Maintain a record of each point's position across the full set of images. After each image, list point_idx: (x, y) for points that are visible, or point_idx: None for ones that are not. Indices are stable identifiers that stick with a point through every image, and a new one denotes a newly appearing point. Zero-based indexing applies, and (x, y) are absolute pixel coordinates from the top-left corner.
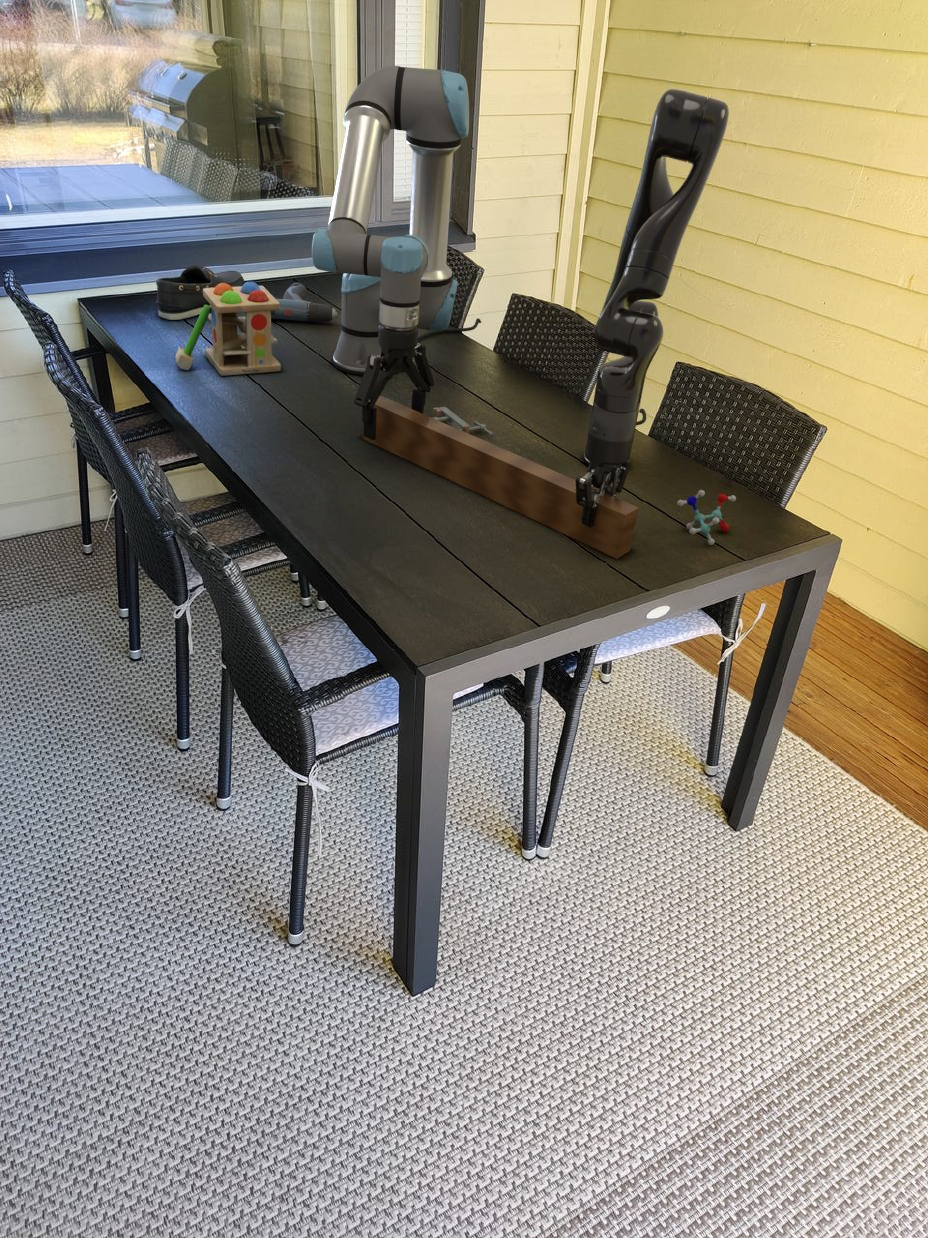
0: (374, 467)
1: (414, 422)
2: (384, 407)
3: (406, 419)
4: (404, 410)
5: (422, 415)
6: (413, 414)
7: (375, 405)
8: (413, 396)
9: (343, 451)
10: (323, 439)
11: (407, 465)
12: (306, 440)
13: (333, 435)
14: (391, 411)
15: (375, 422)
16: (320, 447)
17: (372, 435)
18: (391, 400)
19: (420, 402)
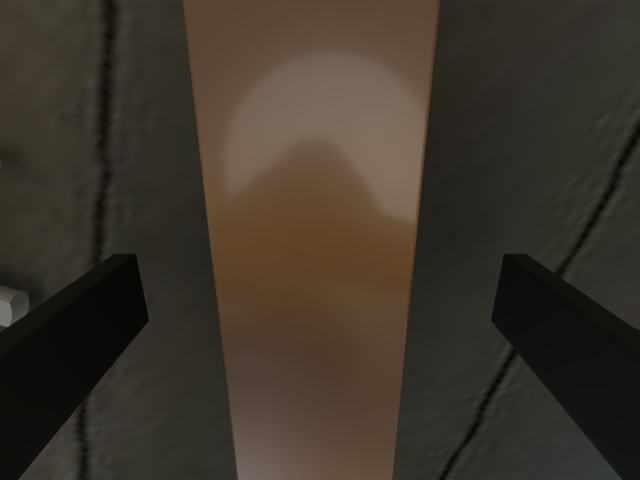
0: (534, 157)
1: (434, 27)
2: (384, 421)
3: (423, 154)
4: (297, 297)
5: (231, 101)
6: (295, 181)
7: (391, 474)
8: (43, 431)
9: (492, 335)
10: (460, 432)
11: None
12: (506, 453)
13: (410, 435)
14: (402, 345)
15: (585, 308)
16: (520, 398)
17: (541, 269)
18: (241, 471)
19: (40, 341)
